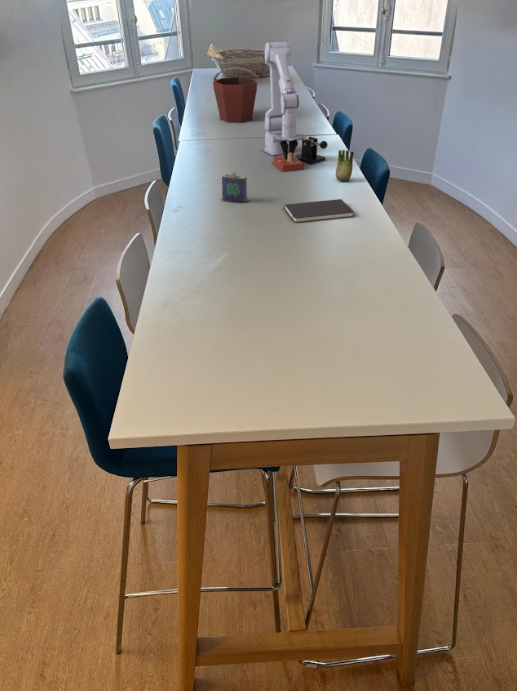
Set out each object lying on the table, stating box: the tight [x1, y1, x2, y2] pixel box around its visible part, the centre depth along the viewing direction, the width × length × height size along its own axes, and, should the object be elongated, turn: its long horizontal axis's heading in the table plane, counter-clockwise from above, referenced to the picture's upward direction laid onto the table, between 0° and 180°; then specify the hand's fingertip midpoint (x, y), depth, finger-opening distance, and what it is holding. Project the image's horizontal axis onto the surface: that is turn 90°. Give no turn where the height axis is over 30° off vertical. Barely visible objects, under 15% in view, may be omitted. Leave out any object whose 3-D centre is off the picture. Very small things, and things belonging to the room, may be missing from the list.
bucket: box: [212, 66, 261, 124], centre depth 298 cm, size 24×22×25 cm
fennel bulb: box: [335, 149, 355, 182], centre depth 223 cm, size 6×5×12 cm
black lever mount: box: [293, 136, 326, 165], centre depth 246 cm, size 11×9×9 cm
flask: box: [221, 170, 248, 203], centre depth 206 cm, size 9×3×11 cm, turn 74°
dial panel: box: [272, 154, 304, 172], centre depth 240 cm, size 12×9×3 cm
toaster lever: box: [307, 138, 328, 150], centre depth 242 cm, size 11×3×3 cm, turn 43°
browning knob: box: [287, 149, 292, 162], centre depth 239 cm, size 5×2×4 cm, turn 18°
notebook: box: [284, 198, 354, 223], centre depth 199 cm, size 13×2×21 cm
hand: (288, 158), depth 239 cm, fingers closed on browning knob
